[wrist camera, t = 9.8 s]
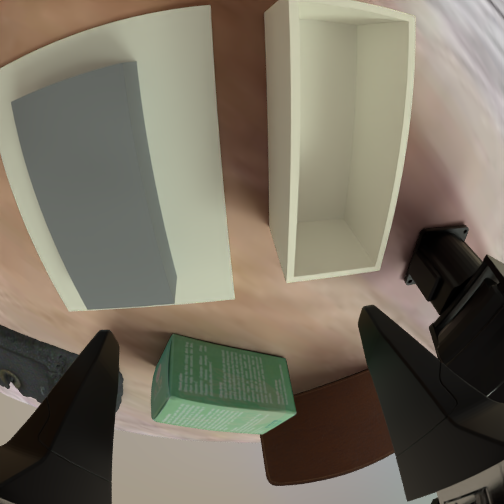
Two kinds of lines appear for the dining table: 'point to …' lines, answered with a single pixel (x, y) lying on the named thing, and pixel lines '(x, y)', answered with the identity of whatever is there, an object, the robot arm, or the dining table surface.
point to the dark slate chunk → (35, 365)
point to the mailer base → (335, 131)
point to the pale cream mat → (158, 135)
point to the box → (220, 388)
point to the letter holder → (328, 433)
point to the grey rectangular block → (98, 186)
